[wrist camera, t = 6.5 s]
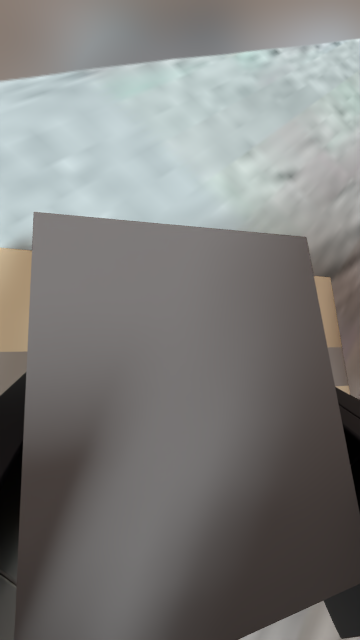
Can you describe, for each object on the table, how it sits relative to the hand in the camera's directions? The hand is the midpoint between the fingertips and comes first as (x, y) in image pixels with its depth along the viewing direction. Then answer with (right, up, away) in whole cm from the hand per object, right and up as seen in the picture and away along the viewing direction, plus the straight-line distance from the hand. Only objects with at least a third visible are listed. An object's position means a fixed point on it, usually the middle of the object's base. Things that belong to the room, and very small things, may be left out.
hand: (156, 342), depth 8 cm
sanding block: (-1, -2, +3) cm, 4 cm away
